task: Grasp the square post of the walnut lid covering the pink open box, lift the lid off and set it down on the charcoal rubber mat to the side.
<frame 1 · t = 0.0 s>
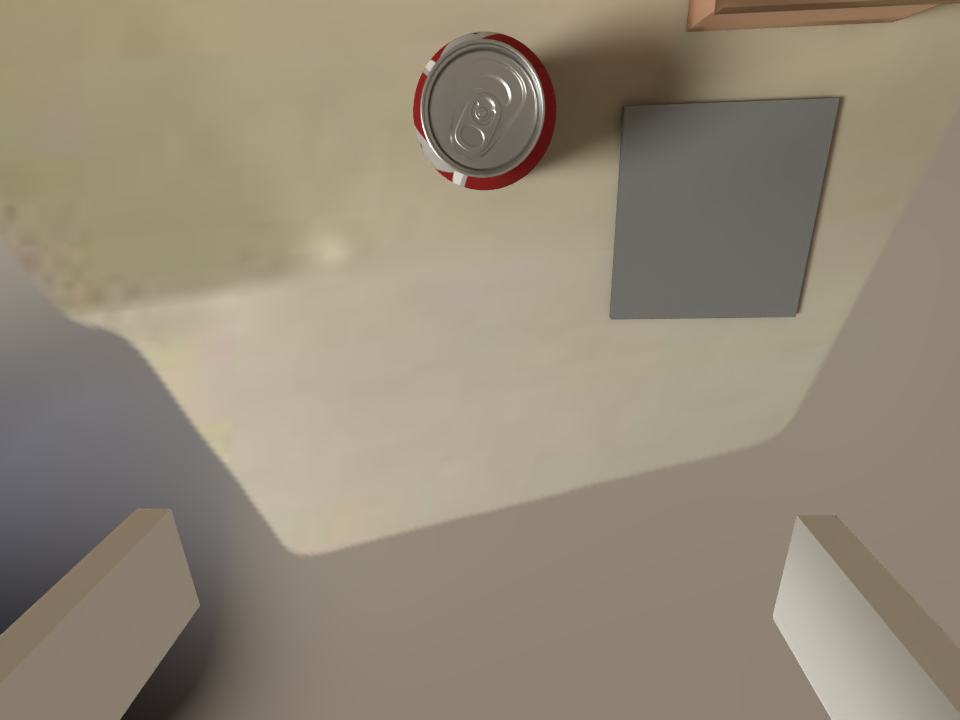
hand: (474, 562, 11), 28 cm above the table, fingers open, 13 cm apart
mat: (712, 217, 35), on the table
soda can: (491, 129, 34), on the table
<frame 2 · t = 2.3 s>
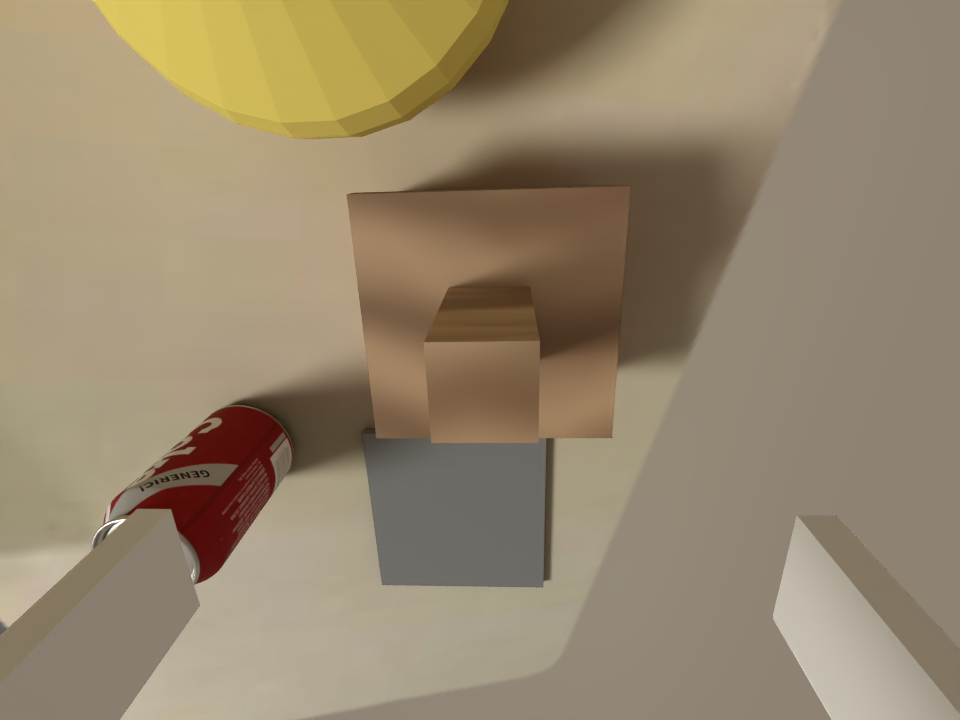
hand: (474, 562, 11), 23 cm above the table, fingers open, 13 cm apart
mat: (458, 509, 39), on the table
soda can: (253, 440, 37), on the table
lid: (490, 318, 27), point 6 cm above the table, touching pink open box
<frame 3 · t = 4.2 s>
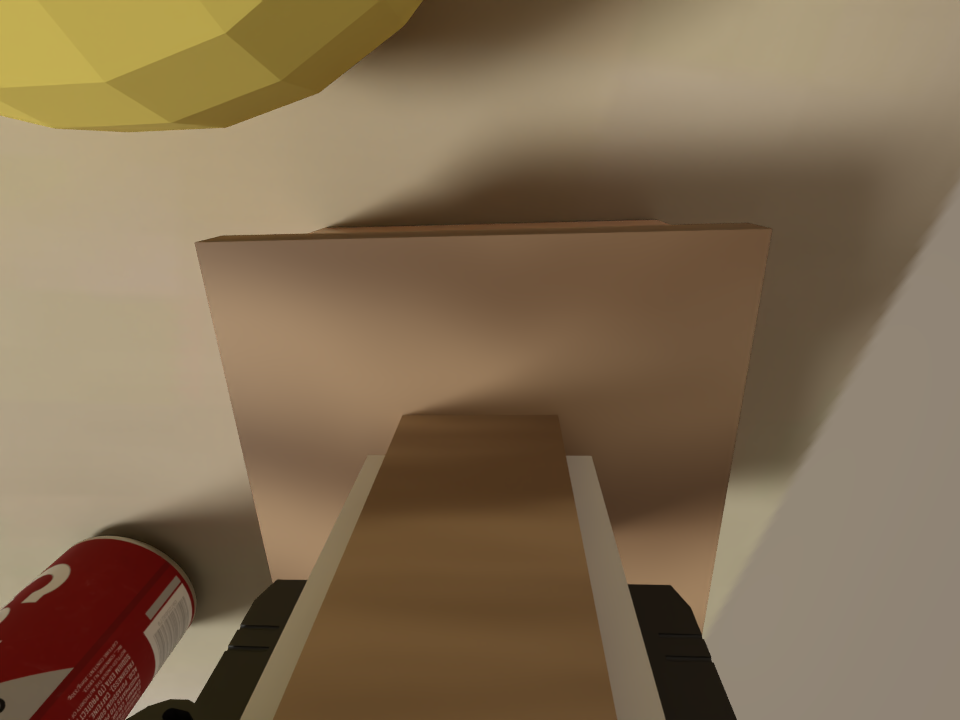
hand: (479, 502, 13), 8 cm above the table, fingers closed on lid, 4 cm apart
soda can: (141, 577, 26), on the table
pink open box: (490, 376, 20), on the table
lid: (483, 457, 15), point 6 cm above the table, touching pink open box, gripper
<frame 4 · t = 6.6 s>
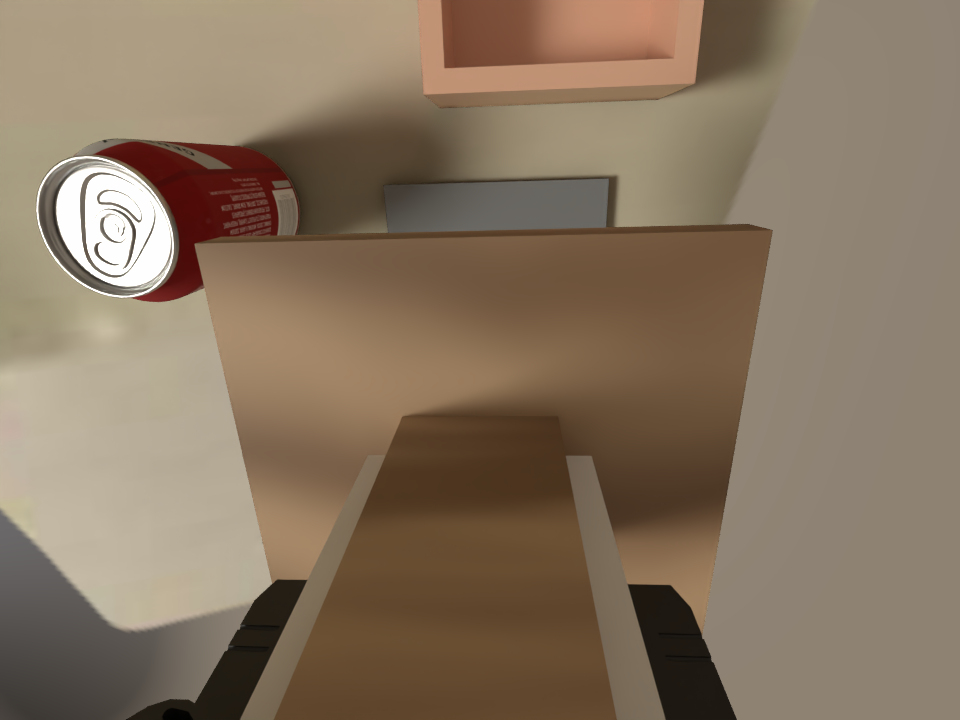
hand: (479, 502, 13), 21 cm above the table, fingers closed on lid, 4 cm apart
mat: (497, 297, 32), on the table
soda can: (252, 206, 31), on the table
lid: (483, 458, 15), point 19 cm above the table, touching gripper
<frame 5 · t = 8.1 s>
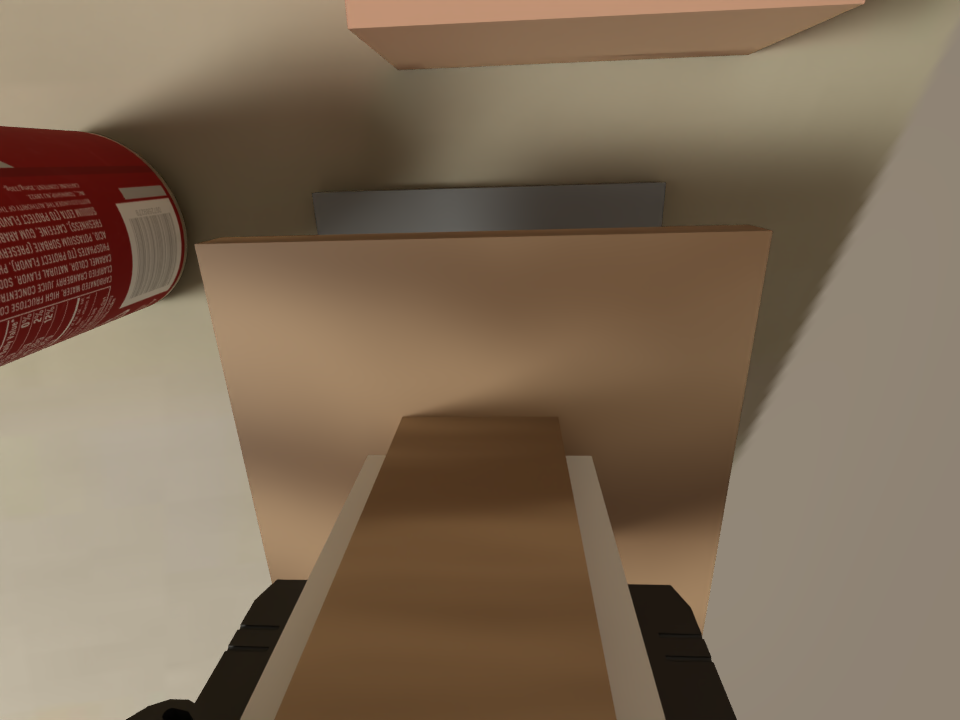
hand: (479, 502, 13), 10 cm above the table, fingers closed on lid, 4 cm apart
mat: (490, 359, 22), on the table
soda can: (118, 223, 21), on the table
lid: (483, 458, 15), point 7 cm above the table, touching gripper
when the fingers open (4 cm above the table, at t = 9.3 s): lid drops 1 cm, resting on mat.
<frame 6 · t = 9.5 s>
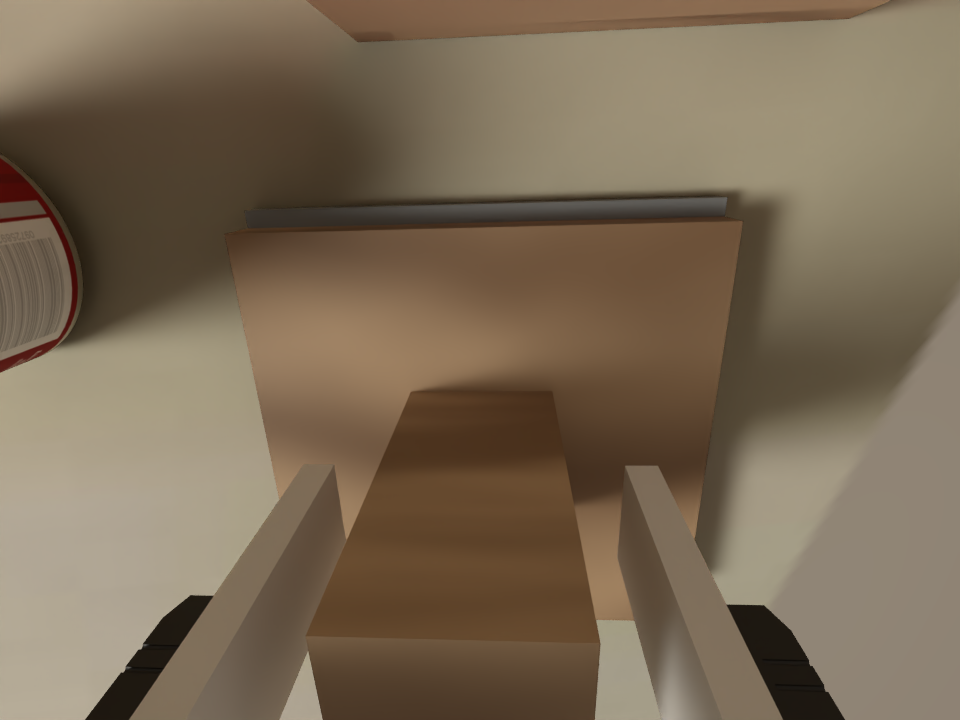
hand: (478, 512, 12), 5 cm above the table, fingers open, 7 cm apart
mat: (486, 424, 17), on the table
lid: (484, 432, 16), point 1 cm above the table, touching mat
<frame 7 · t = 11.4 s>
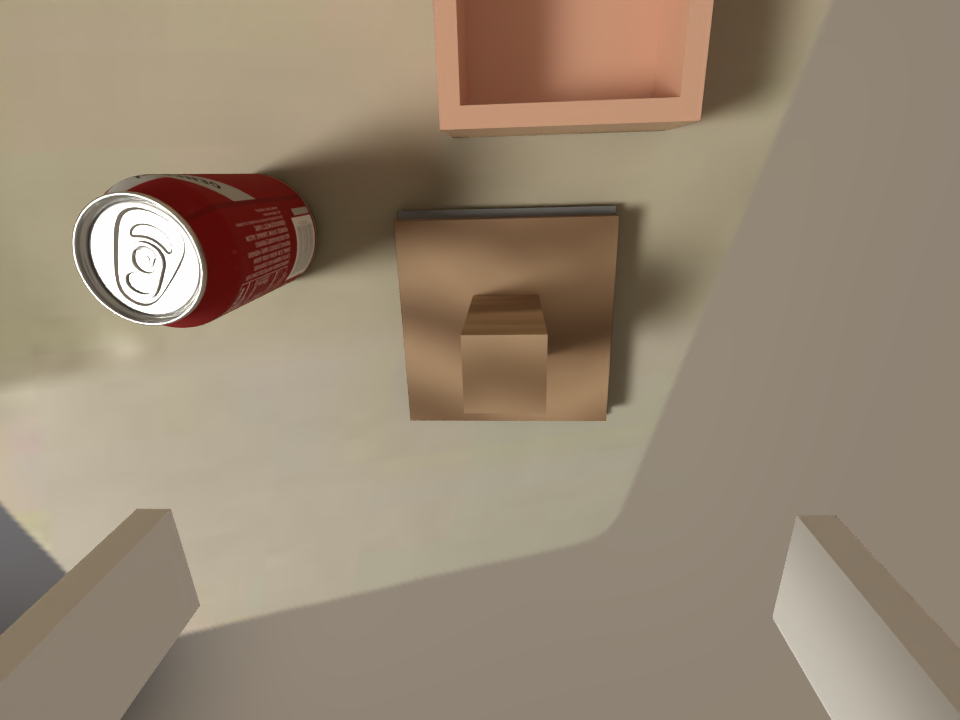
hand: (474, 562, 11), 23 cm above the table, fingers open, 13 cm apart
mat: (506, 319, 33), on the table
soda can: (270, 230, 32), on the table
pink open box: (559, 11, 27), on the table
lid: (506, 321, 33), point 1 cm above the table, touching mat
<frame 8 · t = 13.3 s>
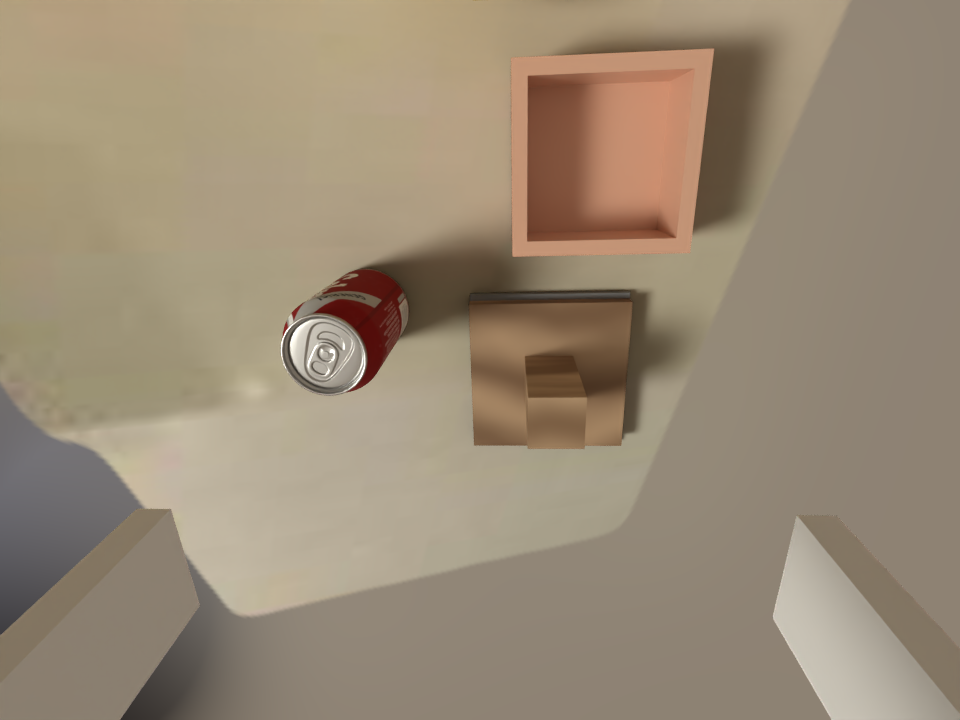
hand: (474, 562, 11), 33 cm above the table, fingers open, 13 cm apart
mat: (547, 370, 44), on the table
soda can: (372, 305, 43), on the table
pink open box: (591, 161, 38), on the table
lid: (547, 372, 44), point 1 cm above the table, touching mat
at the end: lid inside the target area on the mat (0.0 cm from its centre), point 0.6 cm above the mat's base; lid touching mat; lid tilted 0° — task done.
